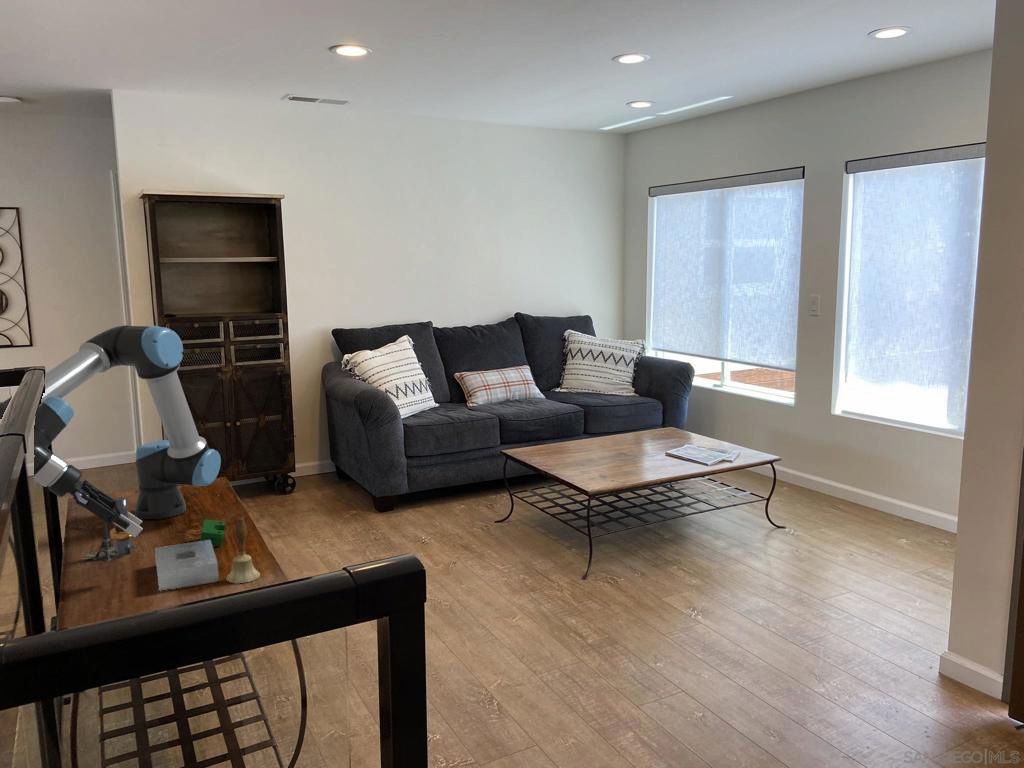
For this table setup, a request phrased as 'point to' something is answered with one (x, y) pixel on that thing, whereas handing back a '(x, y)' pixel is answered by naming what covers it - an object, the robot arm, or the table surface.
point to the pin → (119, 533)
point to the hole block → (186, 565)
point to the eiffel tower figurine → (104, 548)
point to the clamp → (213, 532)
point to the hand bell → (242, 560)
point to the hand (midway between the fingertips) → (138, 529)
